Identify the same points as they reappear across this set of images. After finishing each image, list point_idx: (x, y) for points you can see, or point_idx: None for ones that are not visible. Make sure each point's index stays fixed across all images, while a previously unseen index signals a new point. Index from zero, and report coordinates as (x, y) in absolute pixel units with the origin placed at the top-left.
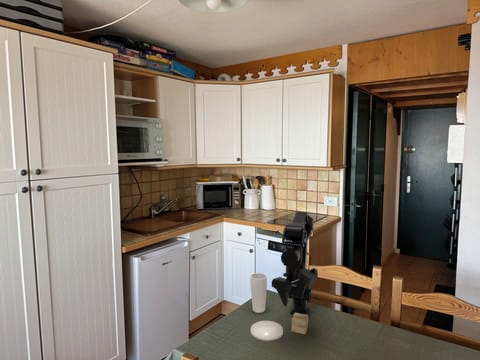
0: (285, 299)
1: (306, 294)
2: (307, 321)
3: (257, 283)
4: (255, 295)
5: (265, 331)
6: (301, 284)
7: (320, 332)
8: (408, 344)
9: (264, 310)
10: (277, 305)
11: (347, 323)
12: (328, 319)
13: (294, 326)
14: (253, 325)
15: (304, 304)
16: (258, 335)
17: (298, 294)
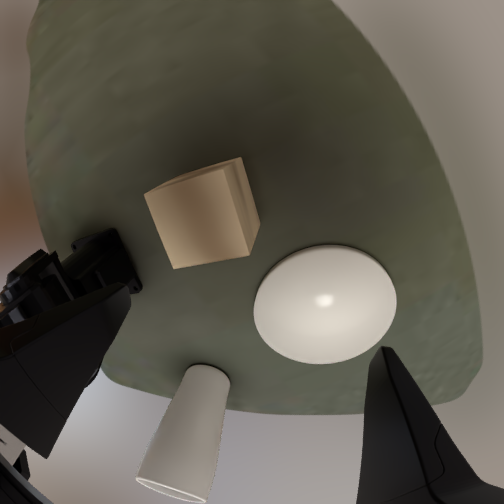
0: (427, 416)
1: (40, 281)
2: (168, 182)
3: (204, 481)
4: (219, 437)
5: (345, 313)
6: (23, 394)
7: (177, 104)
8: None
9: (202, 366)
10: (136, 341)
11: (62, 72)
12: (74, 140)
13: (251, 221)
14: (325, 360)
15: (79, 261)
16: (384, 320)
17: (108, 337)
